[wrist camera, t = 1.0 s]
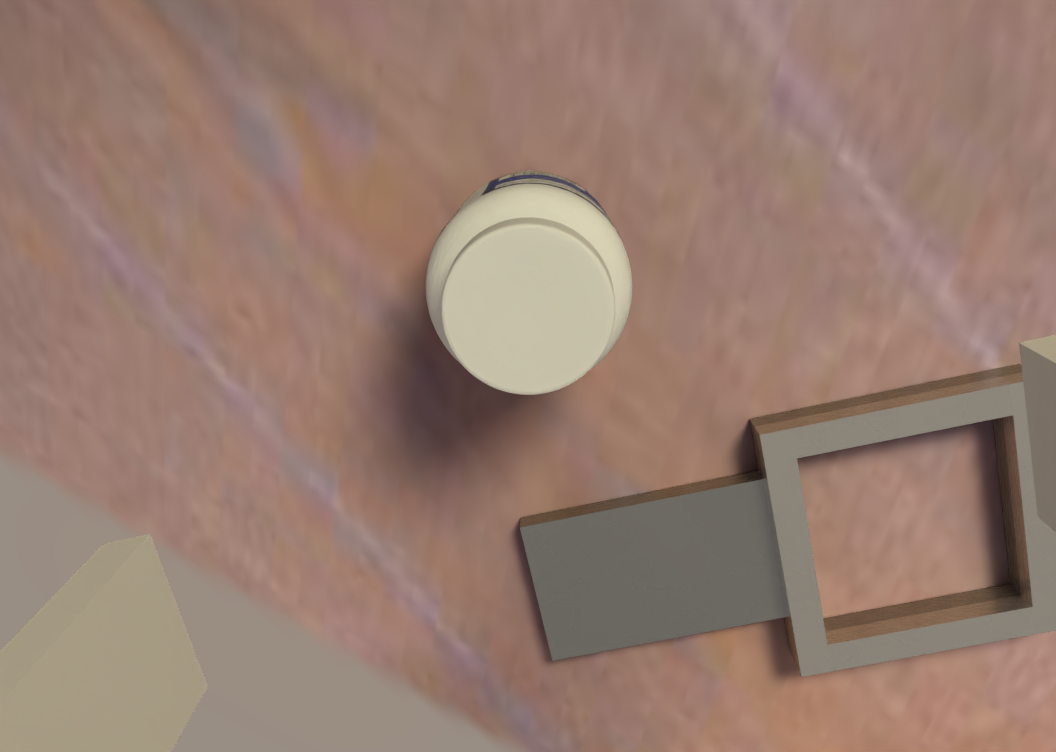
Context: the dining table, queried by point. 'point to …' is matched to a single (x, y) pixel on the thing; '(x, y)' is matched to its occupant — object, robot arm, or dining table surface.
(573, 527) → the square frame bracket
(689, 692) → the dining table surface
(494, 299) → the pill bottle
